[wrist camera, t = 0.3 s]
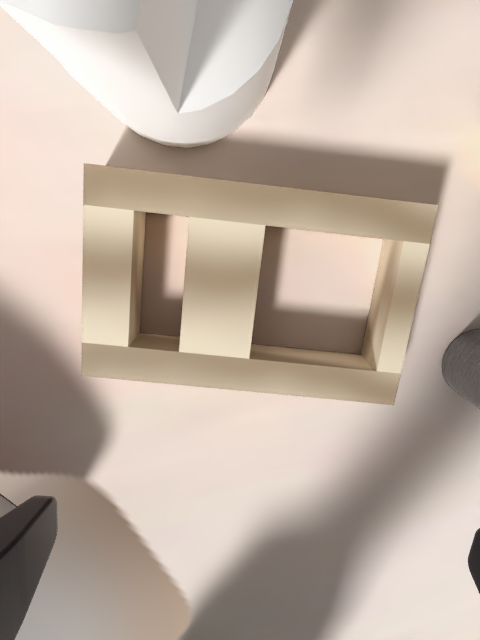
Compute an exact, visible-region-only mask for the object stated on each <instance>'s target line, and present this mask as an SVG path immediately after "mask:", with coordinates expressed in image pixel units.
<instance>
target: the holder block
mask: <svg viewBox="0 0 480 640" xmlns="http://www.w3.org/2000/svg"><path fill="white" fill-rule="evenodd" d="M438 206H439V205H432V204H424V203H416V202H407V201H399V200H390V199H382V198H373V197H365V196H356V195H348V194H339V193H331V192H322V191H314V190H305V189H297V188H289V187H280V186H272V185H263V184H255V183H246V182H238V181H229V180H221V179H212V178H204V177H195V176H187V175H178V174H170V173H162V172H153V171H145V170H136V169H128V168H119V167H111V166H102V165H94V164H85V163H84V190H83V278H82V366H81V376H90V377H100V378H111V379H122V380H132V381H143V382H154V383H164V384H175V385H186V386H196V387H207V388H218V389H228V390H239V391H250V392H260V393H271V394H282V395H292V396H303V397H314V398H324V399H335V400H345V401H356V402H367V403H377V404H388V405H394V402H395V397H396V393H397V388H398V384H399V380H400V375H401V371H402V366H403V362H404V357H405V353H406V348H407V344H408V339H409V335H410V331H411V326H412V322H413V317H414V313H415V308H416V304H417V299H418V295H419V291H420V286H421V282H422V277H423V273H424V268H425V264H426V259H427V255H428V250H429V246H430V242H431V237H432V233H433V228H434V224H435V219H436V215H437V210H438ZM146 212H151V213H159V214H168V215H177V216H186V217H189V226H188V239H187V252H186V266H185V279H184V292H183V305H182V319H181V332H180V337H176V336H166V335H156V334H146V333H140V321H141V300H142V280H143V260H144V239H145V219H146ZM265 226H274V227H283V228H292V229H301V230H309V231H318V232H327V233H336V234H345V235H354V236H362V237H371V238H380V239H383V244H382V249H381V254H380V260H379V265H378V270H377V275H376V280H375V285H374V290H373V295H372V300H371V306H370V311H369V316H368V321H367V326H366V331H365V336H364V341H363V346H362V352H361V355H357V354H347V353H337V352H327V351H317V350H307V349H297V348H287V347H277V346H266V345H256V344H251V340H252V332H253V324H254V316H255V308H256V299H257V291H258V283H259V275H260V267H261V259H262V250H263V242H264V234H265Z"/></svg>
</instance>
